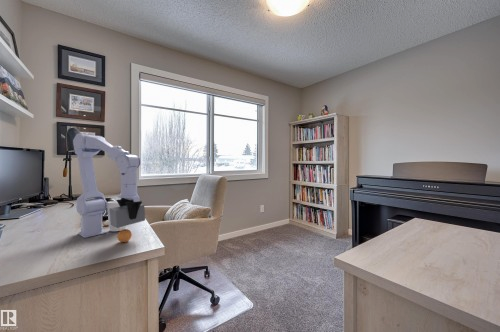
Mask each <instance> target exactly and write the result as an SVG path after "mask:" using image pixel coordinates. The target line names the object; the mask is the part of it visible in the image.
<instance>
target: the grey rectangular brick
mask: <svg viewBox="0 0 500 332" xmlns="http://www.w3.org/2000/svg"><path fill="white" fill-rule="evenodd" d="M145 209H146V208H145V204H143V203H141V205H140V207H139V209H138V213H137V217H136V219H130V218H129V211H128V207H127V205H125V206H120V207H115V208H110V222H111V225H112V226H114V227H116V228H119V227H123V226H126V227H127V226H129V225H134V224H137V223H141V222H144V221H145V222H146V214H145V213H146V212H145Z"/></svg>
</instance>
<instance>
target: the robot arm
mask: <svg viewBox="0 0 500 332" xmlns="http://www.w3.org/2000/svg"><path fill="white" fill-rule="evenodd" d="M72 145H73V150H74V151H73V152H74V153H75V155H76V157H77V163H78V169H79V175H80V182H81V187H82V194H81V195H79V196H78V197H77V198H76V207H75V208H76V211H77V213H78V214H79V215H80V216H81V218H80V231H78V232H77V234H78V235H79V236H81V237H82V238H90V237H94V236H99V235H103V234H106V231H105V230H103V213H105V211H106V210H107V202H108V201H107V200H106V198H105V194H104V193H102V192H101V191H99V190H98V184H97V183H98V182H97V179H96V173H95V166H94V161H93V160H94V159H93V157H94V156H96V155H98V154H99V152H100V151H102V152H105V153H106V154H107V157H108V158H109V159H110V160H112V161H114V162H115V163H116V165H117V167H118V168H119V173H120V193H119V195H117V198H118V199H117V200H116V201H117V202H118V204H119V206H125V205H127V207H128V211H129V218H130V219H136V217H137V213H138V209H139V207H140V205H141V204H143V201H142V200H140V199H141V197H140V196H139V195H138V168H140V165H141V158H140V157H139V155H138V154H131V153H130V151H126V150H125V149H123V147H122V146H121V145H112V144H111V143H110V142H108V141H107V140H106V138H105V137H103V136H102V135H94V134H93V135H92V134H91V135H90V134H86V133H85V134H84V133H80V132H79V133H77V134H75V136H74V138H73V140H72Z"/></svg>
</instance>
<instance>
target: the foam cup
mask: <svg viewBox="0 0 500 332" xmlns="http://www.w3.org/2000/svg"><path fill="white" fill-rule="evenodd" d="M115 207H120V206H119V204H118V202H117V200H110V201H107V207H106V210H107V217H108V218H107V219H108V230H109V232H120V231H121V230H123V229H127V226H123V227H119V228H116V227H114V226H112V225H111V222H110V208H115Z"/></svg>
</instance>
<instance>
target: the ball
mask: <svg viewBox="0 0 500 332" xmlns="http://www.w3.org/2000/svg"><path fill="white" fill-rule="evenodd" d="M132 236H133V235H132V232H131V230H130V229H127V228H125V229H123V230H121V231H118V232H117V235H116V238H117V240H118V242H121V243H127V242H129V241H130V240H131V238H132Z"/></svg>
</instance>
